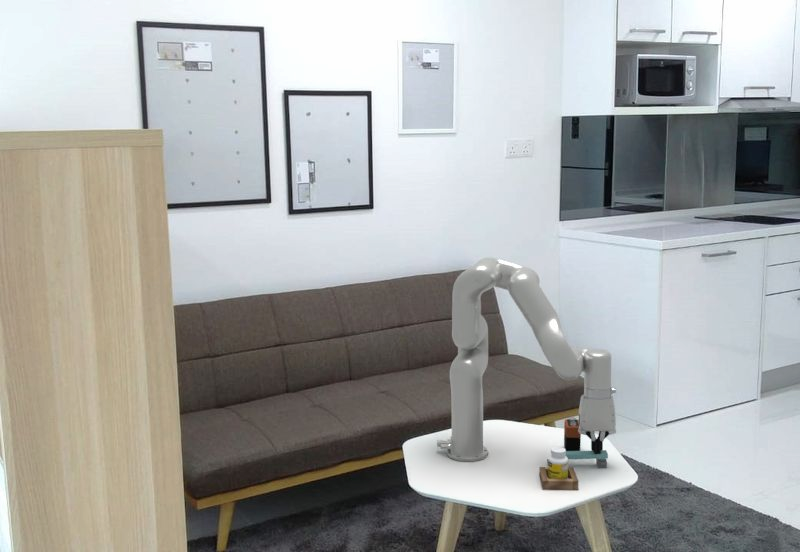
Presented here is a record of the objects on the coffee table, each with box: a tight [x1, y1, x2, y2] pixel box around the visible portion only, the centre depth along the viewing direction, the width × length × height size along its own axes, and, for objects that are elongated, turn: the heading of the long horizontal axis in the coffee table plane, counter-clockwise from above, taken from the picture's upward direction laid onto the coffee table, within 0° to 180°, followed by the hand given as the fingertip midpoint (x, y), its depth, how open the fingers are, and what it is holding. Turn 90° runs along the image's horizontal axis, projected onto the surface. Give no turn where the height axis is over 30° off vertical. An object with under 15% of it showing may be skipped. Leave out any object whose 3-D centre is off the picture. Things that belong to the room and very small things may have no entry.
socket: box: [538, 466, 579, 491], centre depth 237 cm, size 10×10×2 cm
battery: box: [563, 416, 582, 451], centre depth 258 cm, size 4×7×10 cm, turn 174°
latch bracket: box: [546, 458, 608, 469], centre depth 248 cm, size 17×6×4 cm, turn 87°
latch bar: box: [565, 449, 609, 460], centre depth 248 cm, size 15×3×2 cm, turn 87°
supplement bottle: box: [547, 446, 569, 479], centre depth 236 cm, size 5×5×10 cm
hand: (596, 452), depth 247 cm, fingers closed
